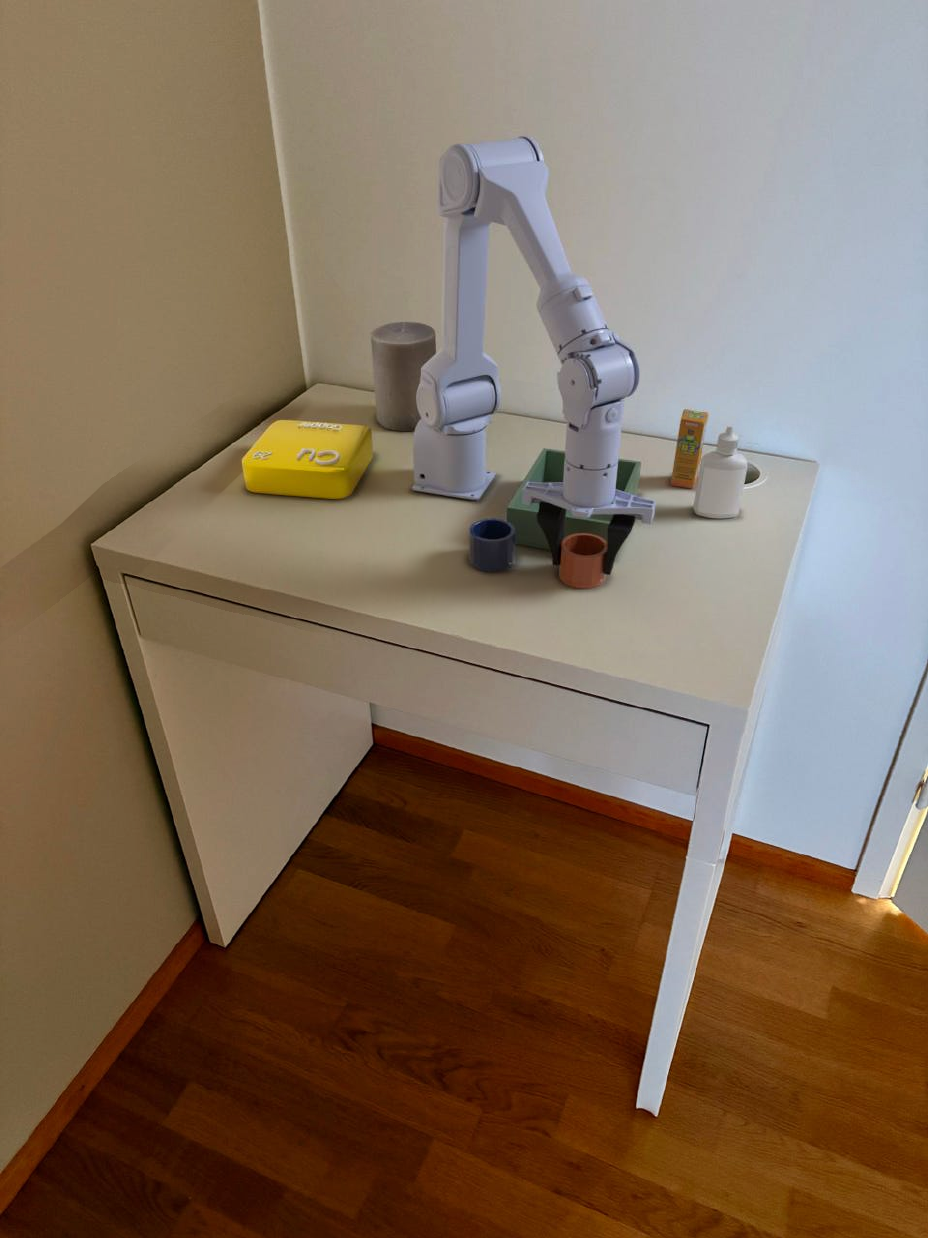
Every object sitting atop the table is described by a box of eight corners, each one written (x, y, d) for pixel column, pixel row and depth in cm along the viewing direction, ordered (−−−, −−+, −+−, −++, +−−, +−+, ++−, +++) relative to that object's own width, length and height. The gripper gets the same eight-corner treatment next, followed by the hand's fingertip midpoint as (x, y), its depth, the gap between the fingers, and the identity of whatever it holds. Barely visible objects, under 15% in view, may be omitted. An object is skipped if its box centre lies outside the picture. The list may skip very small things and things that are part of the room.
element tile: (376, 452, 133) (374, 421, 131) (348, 501, 121) (345, 468, 119) (278, 445, 136) (274, 414, 133) (241, 492, 124) (235, 460, 121)
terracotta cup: (553, 584, 105) (555, 552, 103) (565, 560, 109) (567, 529, 107) (600, 592, 104) (603, 561, 101) (609, 567, 108) (612, 537, 105)
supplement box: (669, 486, 124) (678, 417, 118) (674, 475, 127) (684, 407, 121) (693, 490, 123) (704, 421, 117) (698, 479, 126) (709, 410, 120)
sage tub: (505, 542, 113) (506, 507, 110) (542, 480, 126) (543, 447, 123) (611, 560, 109) (615, 524, 106) (637, 494, 122) (641, 461, 120)
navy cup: (463, 567, 108) (462, 537, 106) (477, 545, 112) (477, 515, 110) (506, 575, 107) (507, 544, 104) (519, 552, 111) (520, 522, 108)
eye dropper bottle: (729, 525, 116) (746, 437, 109) (688, 513, 118) (701, 426, 111) (742, 511, 119) (759, 425, 111) (701, 499, 121) (715, 414, 114)
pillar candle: (448, 412, 145) (446, 317, 136) (420, 436, 138) (417, 337, 129) (393, 402, 148) (388, 309, 139) (364, 425, 141) (357, 328, 132)
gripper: (515, 464, 97) (512, 572, 105) (653, 484, 93) (638, 595, 101) (533, 437, 102) (529, 542, 110) (664, 455, 98) (649, 562, 106)
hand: (582, 565), depth 106 cm, fingers closed on terracotta cup, 5 cm apart
